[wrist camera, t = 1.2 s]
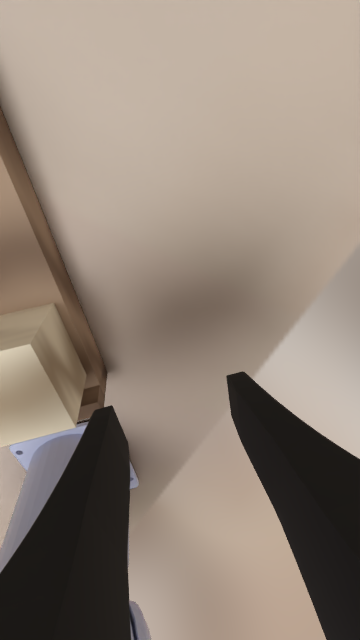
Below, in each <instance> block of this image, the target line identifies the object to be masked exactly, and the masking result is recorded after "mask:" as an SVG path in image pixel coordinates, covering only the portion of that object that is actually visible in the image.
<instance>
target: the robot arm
mask: <svg viewBox="0 0 360 640" xmlns="http://www.w3.org/2000/svg"><path fill="white" fill-rule="evenodd" d="M227 384H228V392H229V400H230V408H231V415H232V418H233V421H234V424H235V427H236V429H237V432H238V435H239V437H240V440H241V442H242V444H243V446H244V449H245V450H246V452H247V455H248V456H249V459H250V461H251V463H252V465H253V466H254V469H255V471H256V473H257V475H258V477H259V479H260V481H261V483H262V485H263V487H264V489H265V491H266V493H267V495H268V497H269V499H270V501H271V503H272V505H273V507H274V509H275V511H276V513H277V516H278V518H279V520H280V522H281V524H282V527H283V530H284V532H285V534H286V537H287V540H288V542H289V544H290V547H291V549H292V552H293V554H294V557H295V559H296V562H297V564H298V567H299V570H300V572H301V574H302V577H303V580H304V582H305V585H306V587H307V590H308V592H309V595H310V598H311V600H312V602H313V605H314V608H315V611H316V613H317V616H318V618H319V621H320V624H321V626H322V629H323V632H324V634H325V637H326V639H327V640H360V459H359V458H357V457H355V456H353V455H352V454H350V453H349V452H347V451H346V450H344V449H343V448H341V447H339V446H338V445H336V444H335V443H333V442H332V441H330V440H329V439H327V438H326V437H324V436H323V435H321V434H320V433H318V432H317V431H316V430H314V429H313V428H312V427H310V426H309V425H307V424H306V423H305V422H303V421H302V420H301V419H299V418H298V417H297V416H295V415H294V414H293V413H292V412H290V411H289V410H288V409H286V408H285V407H284V406H283V405H282V404H280V403H279V402H278V401H277V400H275V399H274V398H273V397H272V396H271V395H269V394H268V393H267V392H266V391H265V390H264V389H263V388H261V387H260V386H259V385H258V384H257V383H256V382H255V381H254V380H253V379H252V378H250V377H249V376H248V375H247V374H246V373H245V372H239V373H235V374H231V375H227ZM9 449H10V451H11V452H12V453H13V454H14V456H15V457H16V458H17V460H18V461H19V462H20V464H21V465H22V466H23V467H24V469H25V470H26V471H27V473H26V476H25V479H24V482H23V485H22V488H21V491H20V494H19V497H18V499H17V502H16V505H15V508H14V511H13V514H12V517H11V520H10V523H9V526H8V529H7V532H6V535H5V538H4V541H3V544H2V547H1V549H0V640H151V636H150V632H149V629H148V626H147V623H146V621H145V619H144V616H143V614H142V611H141V609H140V608H139V606H138V604H136V602H134V601H129V586H128V565H129V502H130V489H133V488H136V487H137V486H138V485H139V480H138V478H137V475H136V473H135V471H134V469H133V466H132V464H131V462H130V459H129V447H128V442H127V439H126V437H125V434H124V432H123V430H122V427H121V425H120V423H119V420H118V418H117V416H116V413H115V411H114V409H113V406H108V407H104V408H100V409H96V410H94V412H93V413H92V416H91V418H90V420H89V421H88V422H84V423H81V424H77V425H76V428H72V429H69V430H65V431H61V432H57V433H53V434H49V435H46V436H42V437H38V438H34V439H30V440H27V441H23V442H19V443H15V444H11V445H10V447H9Z"/></svg>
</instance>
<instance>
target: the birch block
mask: <svg viewBox="0 0 360 640" xmlns="http://www.w3.org/2000/svg"><path fill="white" fill-rule="evenodd" d="M86 376H87V375H86V373H85V370H84V368H83V366H82V364H81V362H80V359H79V357H78V355H77V353H76V351H75V348H74V346H73V344H72V342H71V340H70V337H69V335H68V333H67V331H66V329H65V326H64V324H63V322H62V320H61V318H60V315H59V313H58V311H57V309H56V307H55V304H54V303H51V304H47V305H43V306H39V307H34V308H30V309H26V310H21V311H17V312H13V313H8V314H4V315H0V447H4V446H8V445H11V444H15V443H19V442H23V441H27V440H30V439H34V438H38V437H42V436H46V435H49V434H53V433H57V432H61V431H65V430H69V429H72V428H76V425H77V420H78V415H79V410H80V405H81V400H82V395H83V390H84V386H85V381H86Z"/></svg>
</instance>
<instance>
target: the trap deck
mask: <svg viewBox="0 0 360 640" xmlns="http://www.w3.org/2000/svg"><path fill="white" fill-rule="evenodd" d="M51 303H54V304H55V307H56V309H57V311H58V313H59V315H60V318H61V320H62V322H63V324H64V326H65V329H66V331H67V333H68V335H69V337H70V340H71V342H72V344H73V346H74V348H75V351H76V353H77V355H78V357H79V359H80V362H81V364H82V366H83V368H84V370H85V373H86V375H87V376H86V381H85V386H84V390H83V395H82V400H81V405H80V410H79V415H78V420H82V419H86V418H89V417H91V416H92V413H93V412H94V410H96V409H100V408H104V400H105V390H106V380H107V370H106V368H105V365H104V363H103V360H102V358H101V355H100V353H99V350H98V348H97V345H96V343H95V340H94V338H93V335H92V333H91V331H90V328H89V326H88V323H87V321H86V318H85V316H84V313H83V311H82V308H81V306H80V303H79V301H78V298H77V296H76V293H75V291H74V288H73V286H72V283H71V281H70V278H69V276H68V273H67V271H66V268H65V266H64V264H63V261H62V259H61V256H60V254H59V251H58V249H57V246H56V244H55V241H54V239H53V236H52V234H51V231H50V229H49V226H48V224H47V221H46V219H45V216H44V214H43V211H42V209H41V206H40V204H39V201H38V199H37V197H36V194H35V192H34V189H33V187H32V184H31V182H30V179H29V177H28V174H27V172H26V169H25V167H24V164H23V162H22V159H21V157H20V154H19V152H18V149H17V147H16V144H15V142H14V139H13V137H12V134H11V132H10V129H9V127H8V125H7V122H6V120H5V117H4V115H3V112H2V110H1V107H0V315H4V314H8V313H13V312H17V311H21V310H26V309H30V308H34V307H39V306H43V305H47V304H51ZM78 420H77V421H78Z"/></svg>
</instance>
